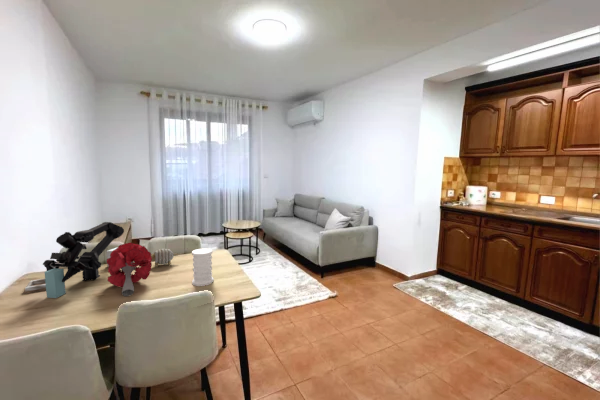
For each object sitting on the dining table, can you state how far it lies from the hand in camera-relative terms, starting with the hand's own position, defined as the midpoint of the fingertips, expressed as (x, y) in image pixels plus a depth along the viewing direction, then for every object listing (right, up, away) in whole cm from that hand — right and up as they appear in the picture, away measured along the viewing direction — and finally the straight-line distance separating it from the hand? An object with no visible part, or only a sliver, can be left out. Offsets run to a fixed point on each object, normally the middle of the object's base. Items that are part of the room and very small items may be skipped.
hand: (54, 281), depth 137 cm
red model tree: (+29, -7, +13) cm, 32 cm away
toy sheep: (+32, -3, +46) cm, 56 cm away
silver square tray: (-16, -6, +11) cm, 20 cm away
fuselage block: (0, -7, +1) cm, 8 cm away
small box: (+1, -2, +45) cm, 45 cm away
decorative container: (+66, -7, +21) cm, 70 cm away
